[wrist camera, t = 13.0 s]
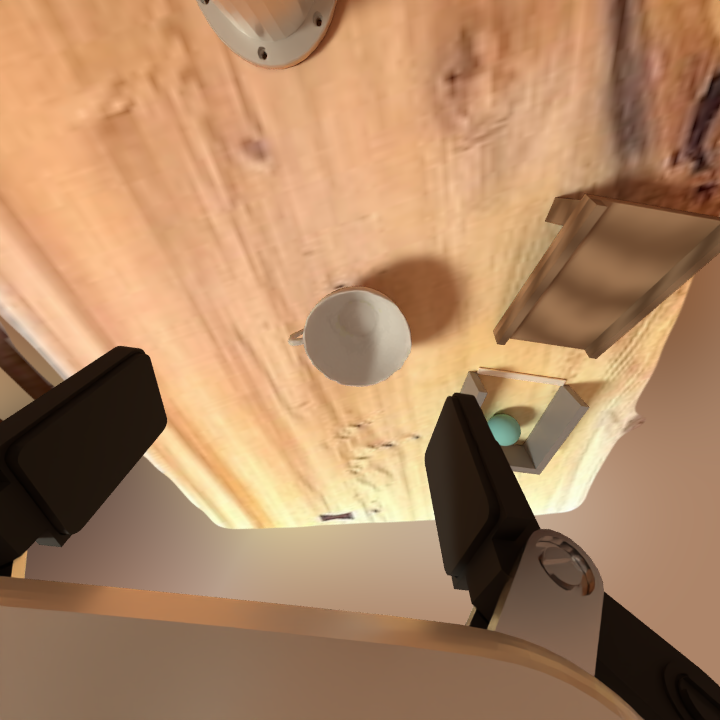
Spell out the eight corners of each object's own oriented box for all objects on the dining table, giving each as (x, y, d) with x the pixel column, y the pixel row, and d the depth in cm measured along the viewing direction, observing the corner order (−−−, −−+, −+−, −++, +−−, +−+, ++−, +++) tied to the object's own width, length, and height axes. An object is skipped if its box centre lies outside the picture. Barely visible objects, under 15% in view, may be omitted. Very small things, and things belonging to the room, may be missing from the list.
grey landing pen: (471, 366, 44) (481, 386, 40) (572, 380, 45) (593, 401, 41) (440, 439, 52) (446, 462, 48) (526, 451, 53) (539, 474, 49)
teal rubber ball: (493, 407, 46) (498, 439, 44) (524, 411, 47) (530, 443, 44) (479, 418, 51) (482, 447, 48) (507, 421, 51) (511, 450, 48)
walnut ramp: (553, 191, 32) (602, 194, 25) (673, 212, 33) (752, 221, 26) (490, 336, 41) (514, 366, 35) (585, 350, 42) (626, 382, 35)
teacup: (404, 266, 37) (411, 286, 30) (405, 352, 43) (412, 384, 36) (287, 276, 38) (269, 298, 31) (306, 358, 44) (294, 391, 38)
